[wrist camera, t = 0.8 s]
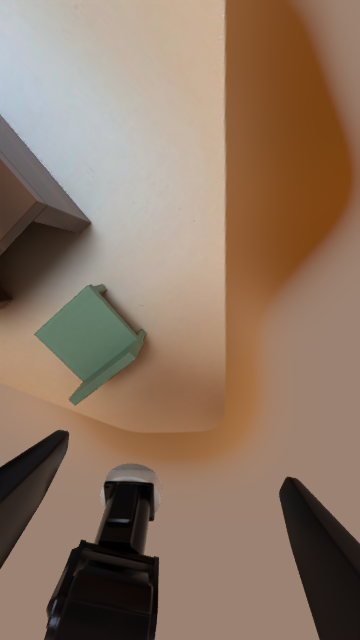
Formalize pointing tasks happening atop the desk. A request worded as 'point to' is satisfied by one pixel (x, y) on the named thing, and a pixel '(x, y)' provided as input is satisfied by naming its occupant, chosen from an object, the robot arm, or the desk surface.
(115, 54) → the desk surface
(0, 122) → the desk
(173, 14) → the desk surface
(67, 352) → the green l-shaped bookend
